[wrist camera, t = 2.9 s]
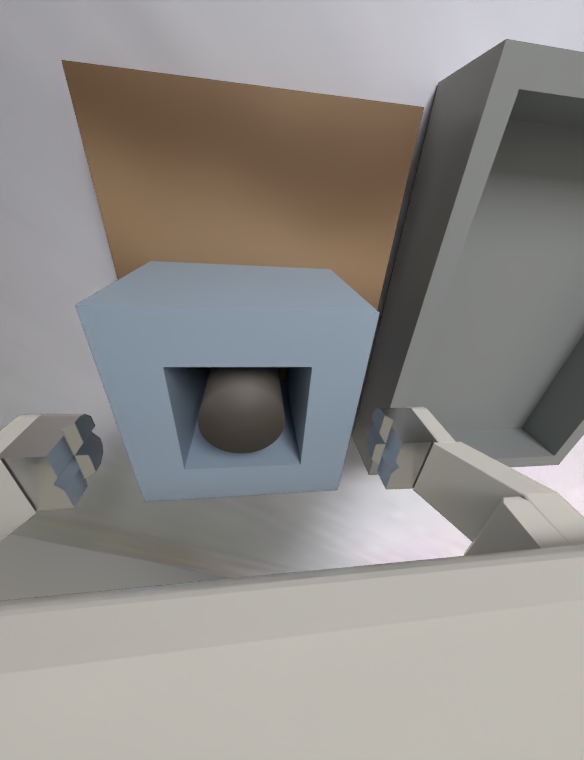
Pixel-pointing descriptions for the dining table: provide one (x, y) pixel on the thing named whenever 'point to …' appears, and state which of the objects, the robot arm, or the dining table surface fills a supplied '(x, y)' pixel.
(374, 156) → the board
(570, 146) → the tray
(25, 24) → the dining table surface
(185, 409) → the collar
